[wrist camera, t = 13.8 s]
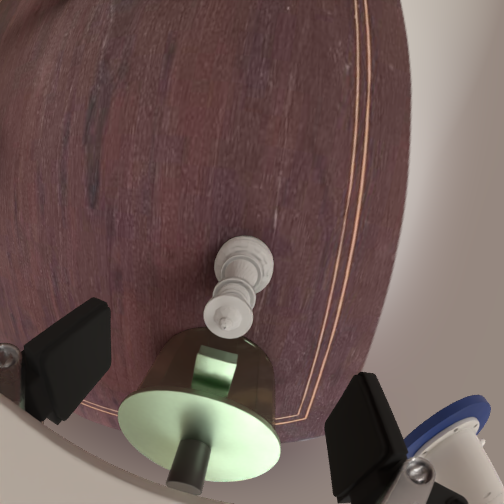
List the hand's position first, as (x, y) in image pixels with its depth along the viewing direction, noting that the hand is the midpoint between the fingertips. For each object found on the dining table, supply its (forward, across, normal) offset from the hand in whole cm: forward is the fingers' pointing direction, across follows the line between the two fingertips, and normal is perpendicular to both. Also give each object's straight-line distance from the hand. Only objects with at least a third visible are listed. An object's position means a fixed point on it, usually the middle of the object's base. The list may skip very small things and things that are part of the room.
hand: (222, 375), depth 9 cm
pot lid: (+4, +1, +12) cm, 13 cm away
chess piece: (+13, +1, 0) cm, 13 cm away
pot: (+13, +1, +12) cm, 17 cm away
